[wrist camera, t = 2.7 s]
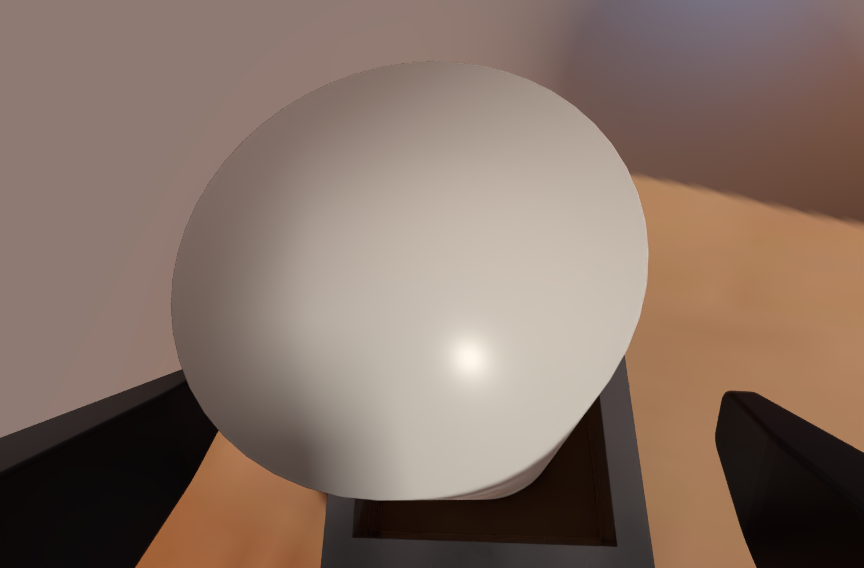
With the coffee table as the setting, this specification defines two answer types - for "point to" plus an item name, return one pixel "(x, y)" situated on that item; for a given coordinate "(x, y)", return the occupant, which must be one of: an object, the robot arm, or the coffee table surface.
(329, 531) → the grey square tray
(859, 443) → the coffee table surface
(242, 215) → the white plug
